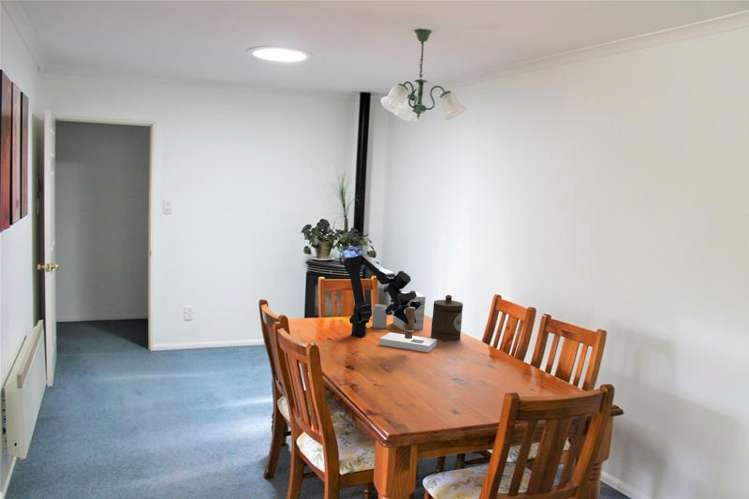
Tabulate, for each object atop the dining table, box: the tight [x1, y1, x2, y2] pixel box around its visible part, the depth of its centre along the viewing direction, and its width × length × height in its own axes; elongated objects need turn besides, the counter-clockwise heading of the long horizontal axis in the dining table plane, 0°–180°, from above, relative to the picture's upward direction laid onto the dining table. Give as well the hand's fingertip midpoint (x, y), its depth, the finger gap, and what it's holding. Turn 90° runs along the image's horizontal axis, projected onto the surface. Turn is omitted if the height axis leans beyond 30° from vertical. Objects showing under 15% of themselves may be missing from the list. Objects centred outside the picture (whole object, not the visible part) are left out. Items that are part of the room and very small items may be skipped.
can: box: [371, 303, 388, 330], centre depth 337 cm, size 8×8×12 cm
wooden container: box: [430, 294, 464, 342], centre depth 323 cm, size 15×15×22 cm
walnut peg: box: [403, 307, 415, 339], centre depth 293 cm, size 5×5×14 cm
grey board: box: [379, 332, 438, 353], centre depth 306 cm, size 24×14×3 cm, turn 70°
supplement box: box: [392, 291, 426, 330], centre depth 344 cm, size 13×13×18 cm
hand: (411, 323), depth 292 cm, fingers closed on walnut peg, 4 cm apart
